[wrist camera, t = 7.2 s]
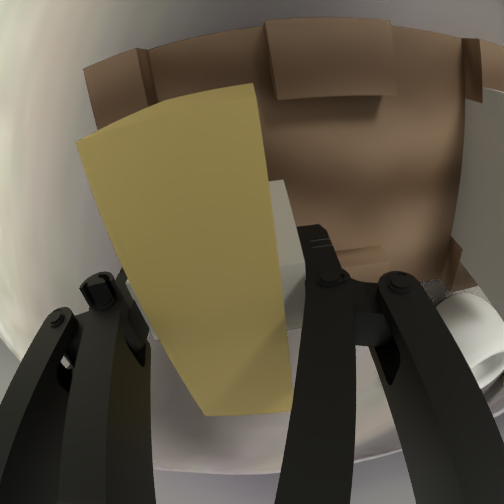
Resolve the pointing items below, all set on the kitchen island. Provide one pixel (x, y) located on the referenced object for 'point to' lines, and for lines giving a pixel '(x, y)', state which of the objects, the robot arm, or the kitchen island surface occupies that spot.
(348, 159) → the comb rack
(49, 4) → the kitchen island surface
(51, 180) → the kitchen island surface
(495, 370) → the mug
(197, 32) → the kitchen island surface
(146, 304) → the ochre bar
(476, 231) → the grey bar
